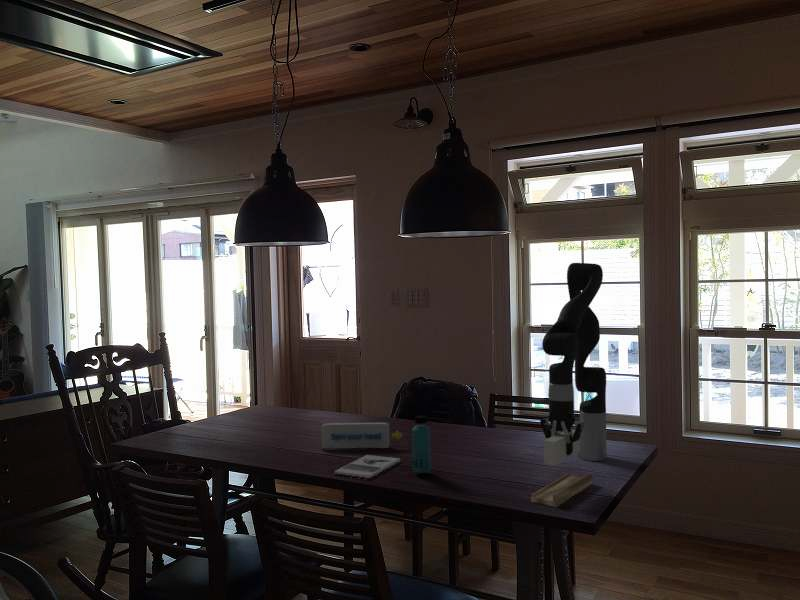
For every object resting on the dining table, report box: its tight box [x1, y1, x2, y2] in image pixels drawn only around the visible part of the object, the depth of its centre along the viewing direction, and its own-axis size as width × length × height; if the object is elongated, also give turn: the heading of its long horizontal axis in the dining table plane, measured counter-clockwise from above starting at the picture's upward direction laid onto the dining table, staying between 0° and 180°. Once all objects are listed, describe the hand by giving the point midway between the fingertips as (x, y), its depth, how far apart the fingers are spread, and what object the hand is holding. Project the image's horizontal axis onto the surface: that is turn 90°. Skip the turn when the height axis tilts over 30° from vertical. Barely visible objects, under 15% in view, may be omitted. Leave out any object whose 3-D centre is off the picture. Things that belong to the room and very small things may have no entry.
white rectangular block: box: [543, 429, 580, 466], centre depth 197 cm, size 4×18×7 cm, turn 141°
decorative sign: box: [320, 422, 403, 449], centre depth 256 cm, size 32×4×10 cm, turn 88°
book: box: [334, 454, 401, 478], centre depth 228 cm, size 23×14×2 cm, turn 154°
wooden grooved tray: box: [530, 472, 593, 508], centre depth 197 cm, size 8×26×4 cm, turn 141°
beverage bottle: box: [411, 415, 432, 473], centre depth 219 cm, size 6×7×20 cm
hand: (562, 453), depth 197 cm, fingers closed on white rectangular block, 3 cm apart
